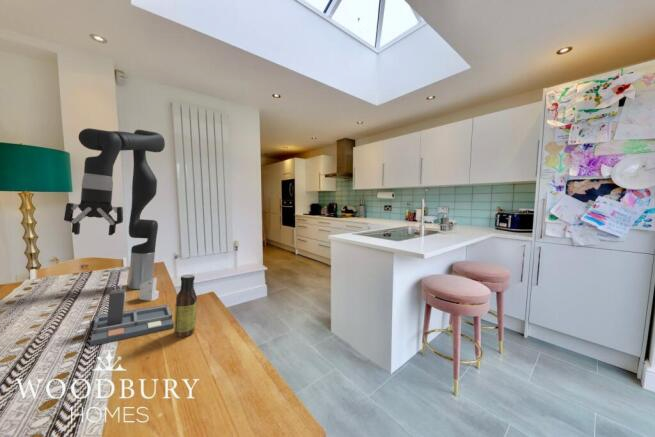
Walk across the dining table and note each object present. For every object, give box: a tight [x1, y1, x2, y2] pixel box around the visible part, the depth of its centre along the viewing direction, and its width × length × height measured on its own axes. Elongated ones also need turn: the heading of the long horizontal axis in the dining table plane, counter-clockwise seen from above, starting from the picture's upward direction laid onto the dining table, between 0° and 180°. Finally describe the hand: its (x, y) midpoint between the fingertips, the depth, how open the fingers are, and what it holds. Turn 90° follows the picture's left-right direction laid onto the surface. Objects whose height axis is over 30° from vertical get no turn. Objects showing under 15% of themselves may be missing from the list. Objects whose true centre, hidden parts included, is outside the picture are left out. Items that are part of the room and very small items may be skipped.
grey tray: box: [89, 304, 175, 347], centre depth 81 cm, size 18×21×3 cm
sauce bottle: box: [173, 273, 198, 338], centre depth 79 cm, size 6×6×20 cm
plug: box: [107, 285, 126, 326], centre depth 78 cm, size 4×4×13 cm
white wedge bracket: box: [138, 276, 160, 302], centre depth 102 cm, size 4×10×9 cm, turn 85°
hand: (94, 234), depth 80 cm, fingers open, 8 cm apart
